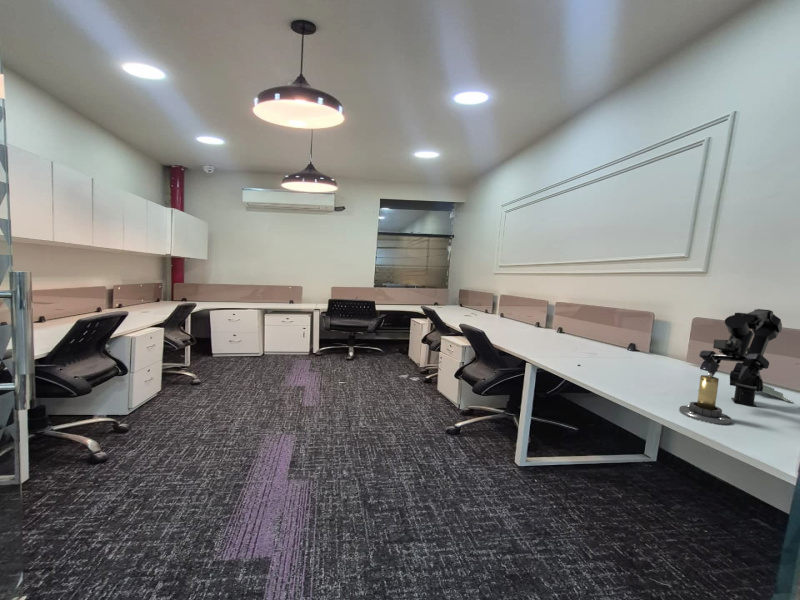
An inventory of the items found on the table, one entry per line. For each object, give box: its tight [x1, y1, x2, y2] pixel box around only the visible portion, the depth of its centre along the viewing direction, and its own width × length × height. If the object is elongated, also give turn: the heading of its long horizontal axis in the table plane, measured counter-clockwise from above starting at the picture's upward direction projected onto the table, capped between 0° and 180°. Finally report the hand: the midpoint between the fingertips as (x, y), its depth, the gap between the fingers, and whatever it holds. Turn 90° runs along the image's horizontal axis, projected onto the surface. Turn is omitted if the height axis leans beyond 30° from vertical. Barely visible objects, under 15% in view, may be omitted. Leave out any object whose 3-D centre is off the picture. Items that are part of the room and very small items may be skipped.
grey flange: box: [678, 401, 733, 426], centre depth 124 cm, size 14×14×4 cm
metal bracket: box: [763, 384, 792, 403], centre depth 152 cm, size 14×6×15 cm
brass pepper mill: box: [696, 372, 720, 410], centre depth 124 cm, size 5×5×14 cm
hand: (724, 378), depth 127 cm, fingers open, 9 cm apart
